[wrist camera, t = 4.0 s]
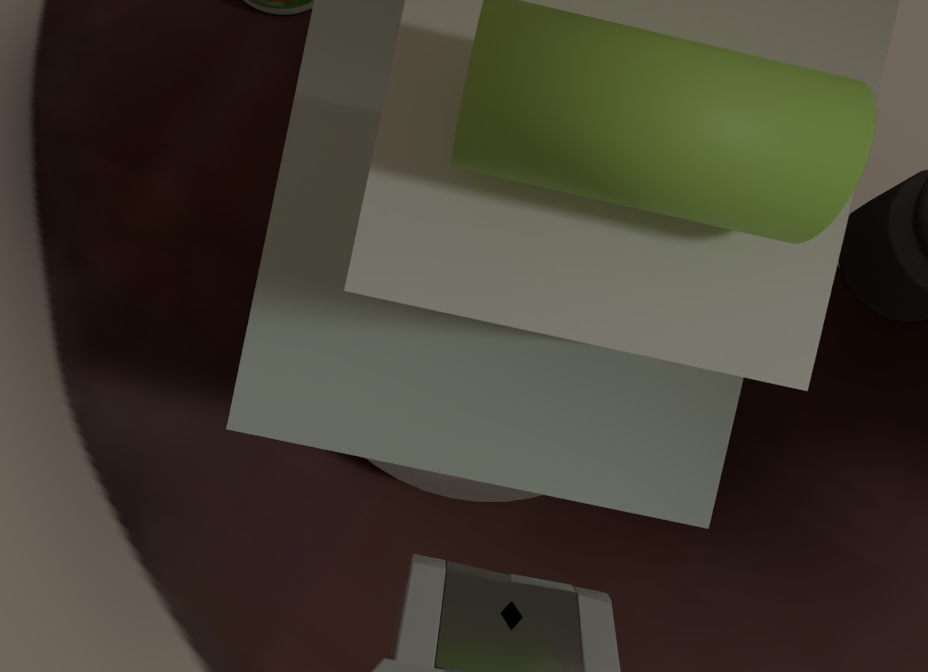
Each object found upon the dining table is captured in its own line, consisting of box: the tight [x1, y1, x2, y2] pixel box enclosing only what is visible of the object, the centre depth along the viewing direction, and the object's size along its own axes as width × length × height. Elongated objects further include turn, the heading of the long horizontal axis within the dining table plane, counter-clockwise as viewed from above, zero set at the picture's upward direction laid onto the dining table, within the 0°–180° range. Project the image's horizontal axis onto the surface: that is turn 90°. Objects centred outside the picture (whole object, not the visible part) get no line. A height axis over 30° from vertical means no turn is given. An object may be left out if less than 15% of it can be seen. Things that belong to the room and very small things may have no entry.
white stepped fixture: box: [226, 0, 899, 529], centre depth 13 cm, size 14×14×13 cm
